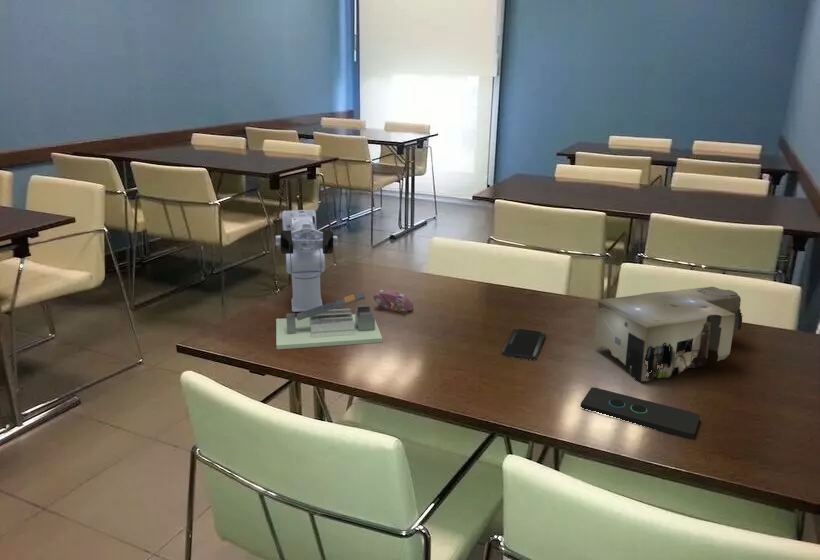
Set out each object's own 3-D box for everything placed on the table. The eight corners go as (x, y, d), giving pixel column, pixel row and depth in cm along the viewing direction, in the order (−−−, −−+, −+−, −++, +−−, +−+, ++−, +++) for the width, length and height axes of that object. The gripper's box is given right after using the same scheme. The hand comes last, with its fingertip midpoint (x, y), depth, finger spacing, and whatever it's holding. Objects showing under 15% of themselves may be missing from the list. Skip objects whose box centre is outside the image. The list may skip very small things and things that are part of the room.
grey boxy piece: (768, 363, 140) (777, 305, 136) (642, 385, 130) (648, 323, 126) (706, 334, 157) (713, 282, 153) (590, 352, 147) (595, 296, 143)
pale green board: (276, 322, 159) (276, 318, 159) (372, 316, 164) (372, 313, 163) (276, 349, 144) (276, 345, 144) (382, 342, 149) (382, 338, 148)
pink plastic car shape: (375, 312, 171) (369, 294, 166) (383, 300, 173) (377, 282, 169) (408, 319, 166) (402, 300, 162) (415, 307, 169) (410, 288, 164)
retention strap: (297, 315, 153) (296, 312, 152) (363, 294, 154) (362, 291, 154) (297, 320, 150) (296, 317, 150) (365, 298, 151) (364, 295, 151)
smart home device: (592, 385, 127) (700, 413, 118) (591, 393, 128) (699, 421, 118) (579, 403, 121) (694, 434, 111) (579, 411, 121) (692, 442, 112)
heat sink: (309, 321, 157) (309, 309, 156) (350, 318, 159) (350, 307, 158) (311, 337, 148) (311, 325, 147) (354, 334, 150) (354, 322, 149)
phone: (546, 332, 153) (535, 358, 140) (546, 337, 154) (535, 362, 140) (513, 328, 156) (500, 352, 143) (513, 332, 156) (500, 356, 143)
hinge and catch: (286, 325, 155) (286, 309, 153) (371, 320, 159) (371, 304, 157) (287, 335, 149) (286, 319, 148) (374, 330, 153) (374, 313, 151)
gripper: (275, 219, 155) (276, 231, 142) (335, 220, 158) (341, 232, 146) (275, 247, 157) (276, 262, 145) (334, 247, 160) (340, 262, 148)
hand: (309, 249), depth 145 cm, fingers open, 7 cm apart
